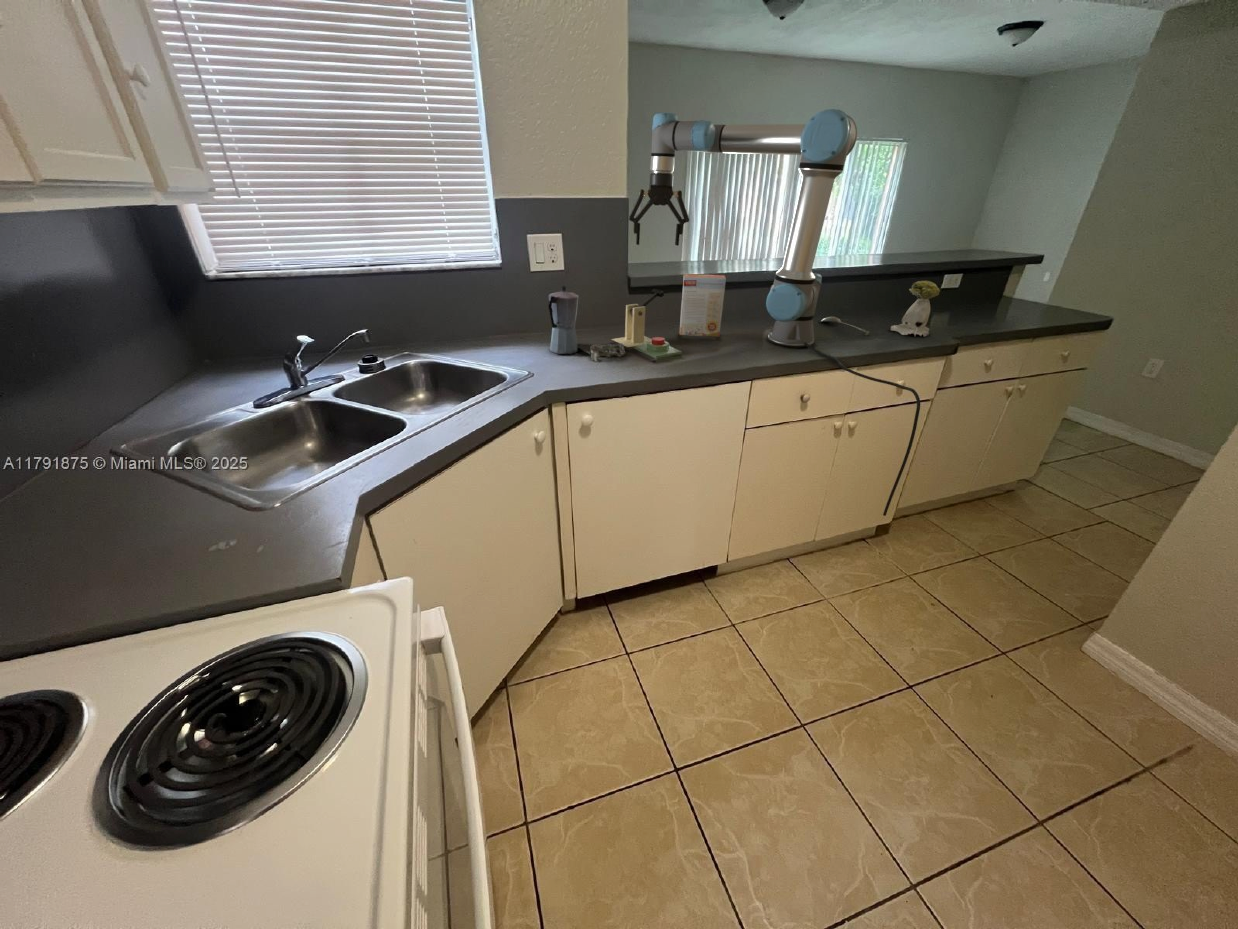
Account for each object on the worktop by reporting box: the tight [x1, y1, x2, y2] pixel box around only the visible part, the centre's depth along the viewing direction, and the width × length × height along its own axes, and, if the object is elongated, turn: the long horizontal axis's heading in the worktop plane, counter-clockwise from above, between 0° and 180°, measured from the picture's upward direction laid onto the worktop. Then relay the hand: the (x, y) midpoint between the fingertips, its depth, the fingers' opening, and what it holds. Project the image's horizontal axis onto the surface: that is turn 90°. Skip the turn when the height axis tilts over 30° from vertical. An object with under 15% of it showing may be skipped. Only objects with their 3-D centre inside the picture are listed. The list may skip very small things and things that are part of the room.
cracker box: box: [679, 273, 727, 338], centre depth 168 cm, size 14×6×21 cm, turn 84°
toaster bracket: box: [611, 303, 652, 348], centre depth 161 cm, size 12×10×13 cm
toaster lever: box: [629, 288, 665, 317], centre depth 159 cm, size 12×5×2 cm
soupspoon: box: [820, 316, 870, 336], centre depth 187 cm, size 22×3×7 cm
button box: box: [633, 340, 683, 364], centre depth 154 cm, size 12×10×4 cm
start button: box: [651, 336, 666, 345], centre depth 152 cm, size 4×4×2 cm
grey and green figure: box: [890, 280, 941, 337], centre depth 179 cm, size 12×13×18 cm
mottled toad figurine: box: [589, 343, 626, 362], centre depth 151 cm, size 11×8×4 cm
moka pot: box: [547, 285, 580, 355], centre depth 151 cm, size 10×15×20 cm, turn 161°
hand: (657, 244), depth 167 cm, fingers open, 13 cm apart
